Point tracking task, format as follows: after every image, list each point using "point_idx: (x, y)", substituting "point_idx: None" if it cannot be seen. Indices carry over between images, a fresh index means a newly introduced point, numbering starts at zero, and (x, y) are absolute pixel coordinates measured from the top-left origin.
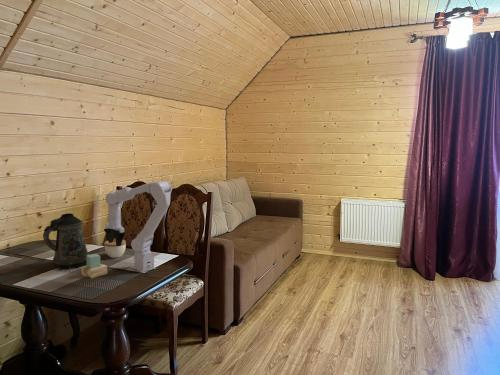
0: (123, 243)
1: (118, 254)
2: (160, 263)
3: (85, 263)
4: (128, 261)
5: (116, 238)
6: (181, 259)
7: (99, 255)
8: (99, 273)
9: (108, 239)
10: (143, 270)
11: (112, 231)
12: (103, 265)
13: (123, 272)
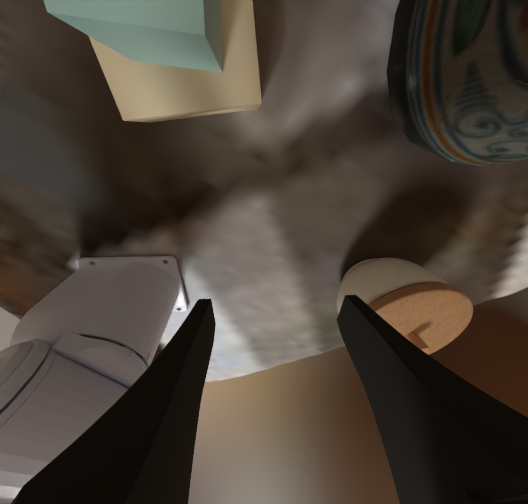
0: None
1: (339, 286)
2: (165, 338)
3: (395, 87)
4: (264, 282)
5: (133, 384)
6: None
7: (70, 10)
8: None
9: (366, 318)
10: (78, 270)
11: (402, 447)
12: (145, 98)
13: (122, 201)
